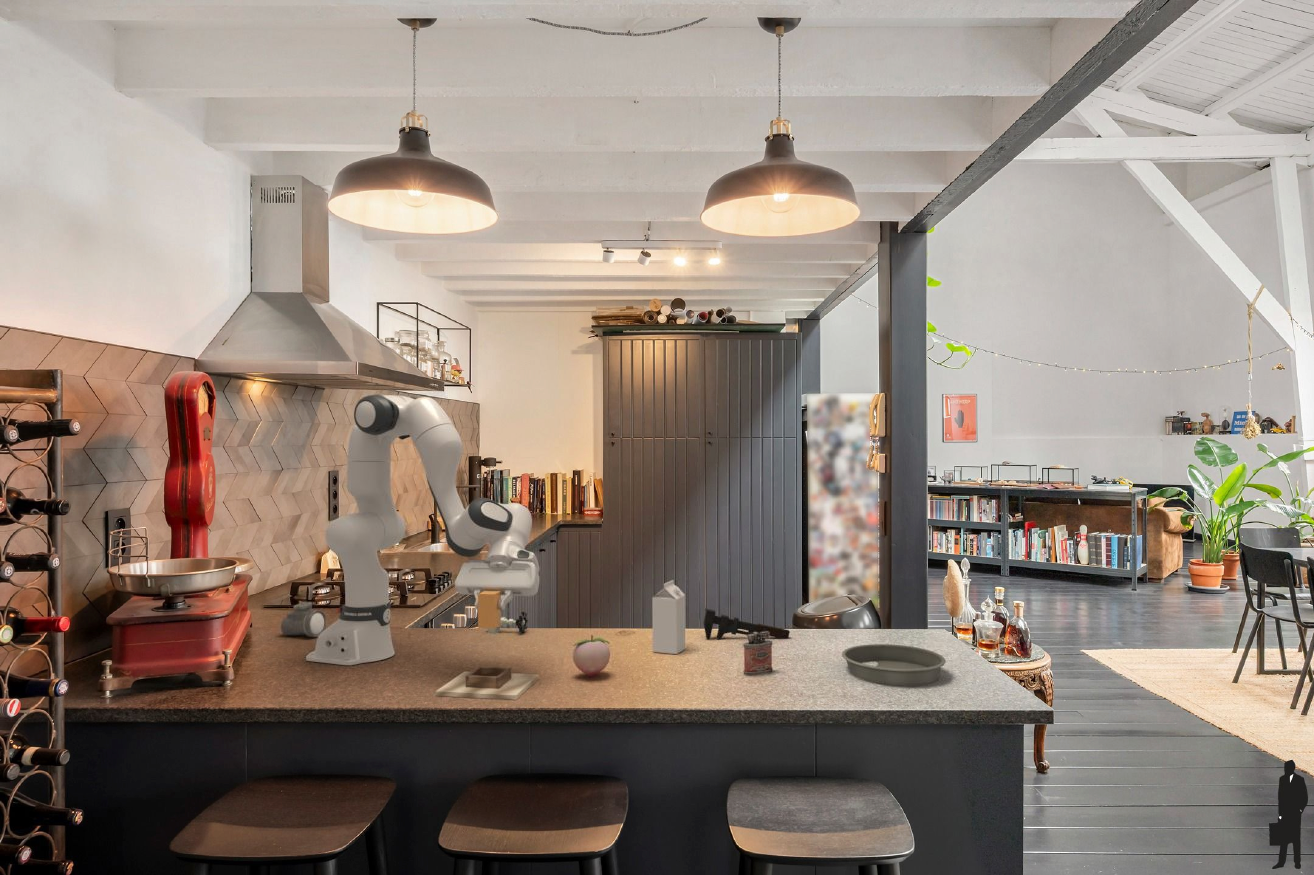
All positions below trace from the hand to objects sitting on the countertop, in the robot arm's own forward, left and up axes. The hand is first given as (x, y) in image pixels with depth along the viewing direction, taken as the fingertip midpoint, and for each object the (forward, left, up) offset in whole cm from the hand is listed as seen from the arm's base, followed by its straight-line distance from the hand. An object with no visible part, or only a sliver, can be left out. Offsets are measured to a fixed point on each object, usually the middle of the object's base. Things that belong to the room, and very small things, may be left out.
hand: (489, 608), depth 179 cm
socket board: (0, 0, -18) cm, 18 cm away
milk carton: (+37, +39, -19) cm, 57 cm away
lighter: (+62, +21, -19) cm, 68 cm away
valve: (-16, +53, -19) cm, 59 cm away
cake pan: (+95, +26, -19) cm, 100 cm away
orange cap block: (0, 0, -4) cm, 4 cm away
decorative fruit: (+22, +12, -19) cm, 31 cm away
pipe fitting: (-75, +40, -19) cm, 87 cm away
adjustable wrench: (+57, +56, -19) cm, 83 cm away
